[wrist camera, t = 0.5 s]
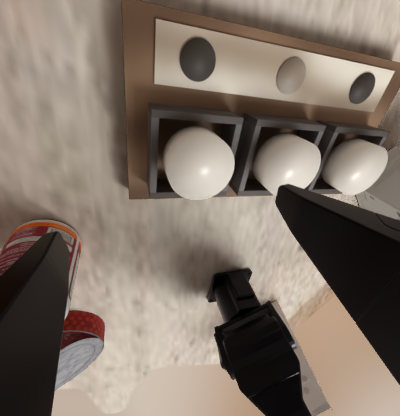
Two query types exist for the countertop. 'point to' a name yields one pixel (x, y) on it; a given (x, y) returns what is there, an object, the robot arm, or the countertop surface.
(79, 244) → the pill bottle
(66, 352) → the canned food
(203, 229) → the countertop surface
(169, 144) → the button
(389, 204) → the supplement box
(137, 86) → the button board
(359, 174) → the button
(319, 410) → the grater
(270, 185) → the button middle
